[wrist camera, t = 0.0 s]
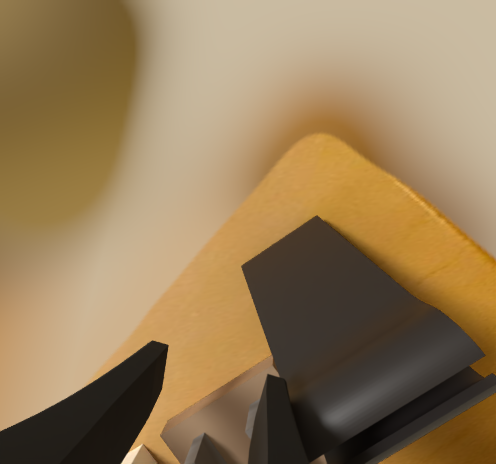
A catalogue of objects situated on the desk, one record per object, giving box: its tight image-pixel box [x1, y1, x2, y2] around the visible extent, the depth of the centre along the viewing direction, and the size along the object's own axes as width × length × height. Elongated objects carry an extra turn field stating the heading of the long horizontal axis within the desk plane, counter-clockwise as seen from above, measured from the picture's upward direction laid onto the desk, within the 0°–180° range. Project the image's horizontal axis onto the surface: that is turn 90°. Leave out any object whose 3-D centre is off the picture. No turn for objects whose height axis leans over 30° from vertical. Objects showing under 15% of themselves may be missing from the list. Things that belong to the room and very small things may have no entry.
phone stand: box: [241, 215, 496, 464], centre depth 15 cm, size 9×6×12 cm, turn 34°
